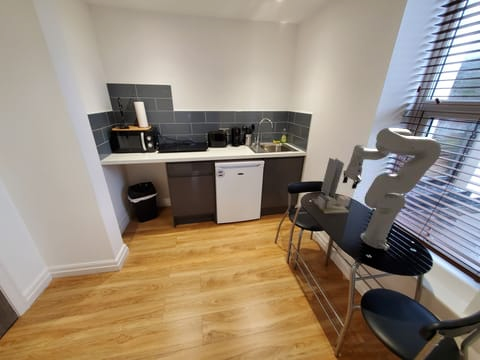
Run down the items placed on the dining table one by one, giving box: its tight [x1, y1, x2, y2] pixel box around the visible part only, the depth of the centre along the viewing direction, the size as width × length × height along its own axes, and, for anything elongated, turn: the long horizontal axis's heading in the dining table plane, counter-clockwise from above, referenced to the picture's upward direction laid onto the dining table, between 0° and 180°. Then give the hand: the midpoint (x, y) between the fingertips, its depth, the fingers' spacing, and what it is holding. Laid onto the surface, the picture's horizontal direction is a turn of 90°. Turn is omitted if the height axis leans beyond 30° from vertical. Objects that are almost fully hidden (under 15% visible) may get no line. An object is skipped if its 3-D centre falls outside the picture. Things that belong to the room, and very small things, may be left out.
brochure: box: [321, 157, 345, 198], centre depth 156 cm, size 14×6×30 cm, turn 179°
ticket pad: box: [317, 193, 335, 209], centre depth 139 cm, size 10×9×7 cm
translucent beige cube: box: [336, 194, 351, 207], centre depth 142 cm, size 6×6×6 cm
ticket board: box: [311, 197, 350, 215], centre depth 141 cm, size 19×19×1 cm
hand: (348, 185), depth 136 cm, fingers open, 9 cm apart
